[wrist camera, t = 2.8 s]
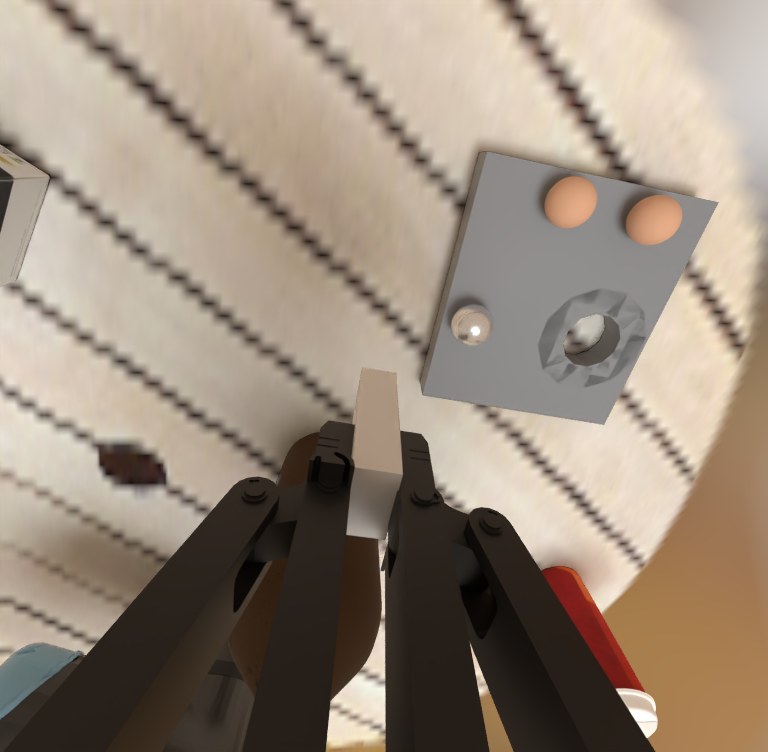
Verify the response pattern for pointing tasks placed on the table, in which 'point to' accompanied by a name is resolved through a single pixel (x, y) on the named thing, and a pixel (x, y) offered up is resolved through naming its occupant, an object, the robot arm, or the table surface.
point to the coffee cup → (602, 644)
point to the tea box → (17, 210)
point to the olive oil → (355, 601)
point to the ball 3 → (654, 220)
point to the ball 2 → (570, 202)
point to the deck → (552, 292)
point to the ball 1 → (472, 325)
